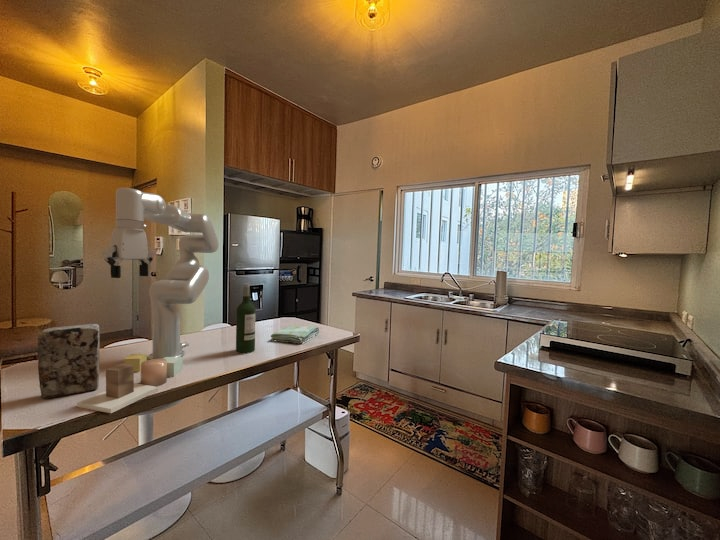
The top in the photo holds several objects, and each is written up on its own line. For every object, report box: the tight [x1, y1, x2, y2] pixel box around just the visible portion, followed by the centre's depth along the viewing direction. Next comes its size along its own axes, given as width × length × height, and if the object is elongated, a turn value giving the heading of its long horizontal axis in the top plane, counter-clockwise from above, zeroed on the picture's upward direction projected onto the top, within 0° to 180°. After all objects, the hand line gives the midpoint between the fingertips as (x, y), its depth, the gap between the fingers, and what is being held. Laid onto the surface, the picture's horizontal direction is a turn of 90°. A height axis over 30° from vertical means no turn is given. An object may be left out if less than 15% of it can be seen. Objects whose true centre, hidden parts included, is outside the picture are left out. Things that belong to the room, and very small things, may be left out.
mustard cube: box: [123, 353, 148, 373], centre depth 109 cm, size 5×5×5 cm
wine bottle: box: [235, 283, 256, 354], centre depth 133 cm, size 8×8×30 cm
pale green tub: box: [163, 356, 184, 378], centre depth 106 cm, size 6×6×5 cm
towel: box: [270, 325, 320, 344], centre depth 157 cm, size 18×21×5 cm
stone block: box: [37, 323, 101, 399], centre depth 90 cm, size 13×7×20 cm, turn 131°
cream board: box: [76, 382, 159, 414], centre depth 88 cm, size 14×12×1 cm
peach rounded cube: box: [140, 359, 168, 387], centre depth 98 cm, size 7×7×7 cm
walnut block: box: [105, 363, 135, 399], centre depth 87 cm, size 4×4×8 cm
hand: (130, 276), depth 101 cm, fingers open, 9 cm apart
